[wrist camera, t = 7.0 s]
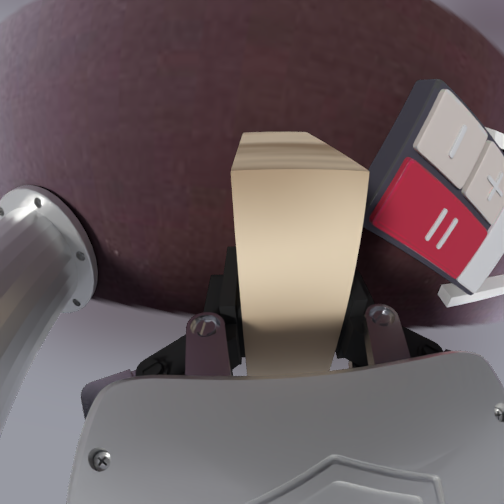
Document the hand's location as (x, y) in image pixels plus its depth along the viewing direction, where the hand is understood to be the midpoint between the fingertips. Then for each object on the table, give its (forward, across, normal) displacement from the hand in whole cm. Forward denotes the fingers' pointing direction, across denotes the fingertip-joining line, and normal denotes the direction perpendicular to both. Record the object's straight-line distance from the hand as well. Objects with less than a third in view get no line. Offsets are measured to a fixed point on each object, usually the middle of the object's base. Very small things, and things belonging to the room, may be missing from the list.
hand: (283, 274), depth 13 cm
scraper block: (+5, 0, 0) cm, 5 cm away
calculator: (+7, -14, -2) cm, 16 cm away
